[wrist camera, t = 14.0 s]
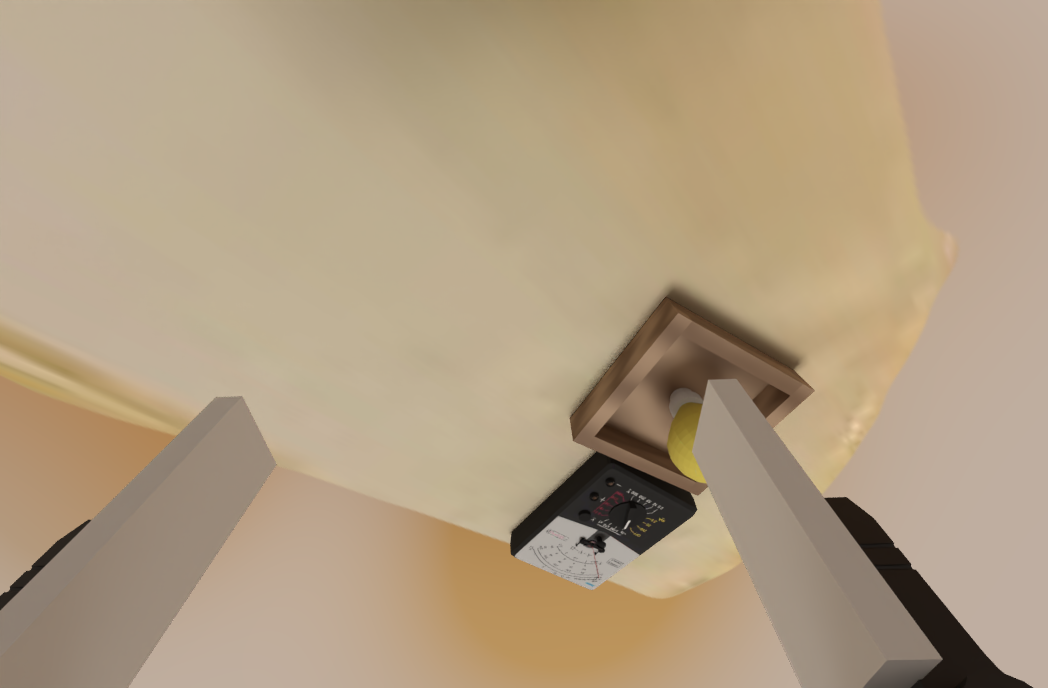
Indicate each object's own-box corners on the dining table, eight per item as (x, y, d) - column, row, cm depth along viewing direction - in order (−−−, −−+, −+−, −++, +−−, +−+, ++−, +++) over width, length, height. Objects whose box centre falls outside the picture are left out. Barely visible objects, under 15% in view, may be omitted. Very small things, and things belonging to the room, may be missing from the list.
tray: (665, 296, 37) (678, 313, 34) (793, 370, 41) (814, 390, 38) (569, 418, 44) (573, 440, 41) (687, 471, 48) (697, 495, 45)
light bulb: (634, 399, 42) (663, 475, 33) (688, 357, 40) (735, 427, 31) (675, 433, 44) (712, 512, 36) (728, 395, 42) (783, 470, 33)
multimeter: (689, 486, 50) (705, 522, 45) (588, 566, 58) (593, 603, 53) (605, 438, 46) (614, 473, 42) (509, 530, 54) (507, 567, 50)
